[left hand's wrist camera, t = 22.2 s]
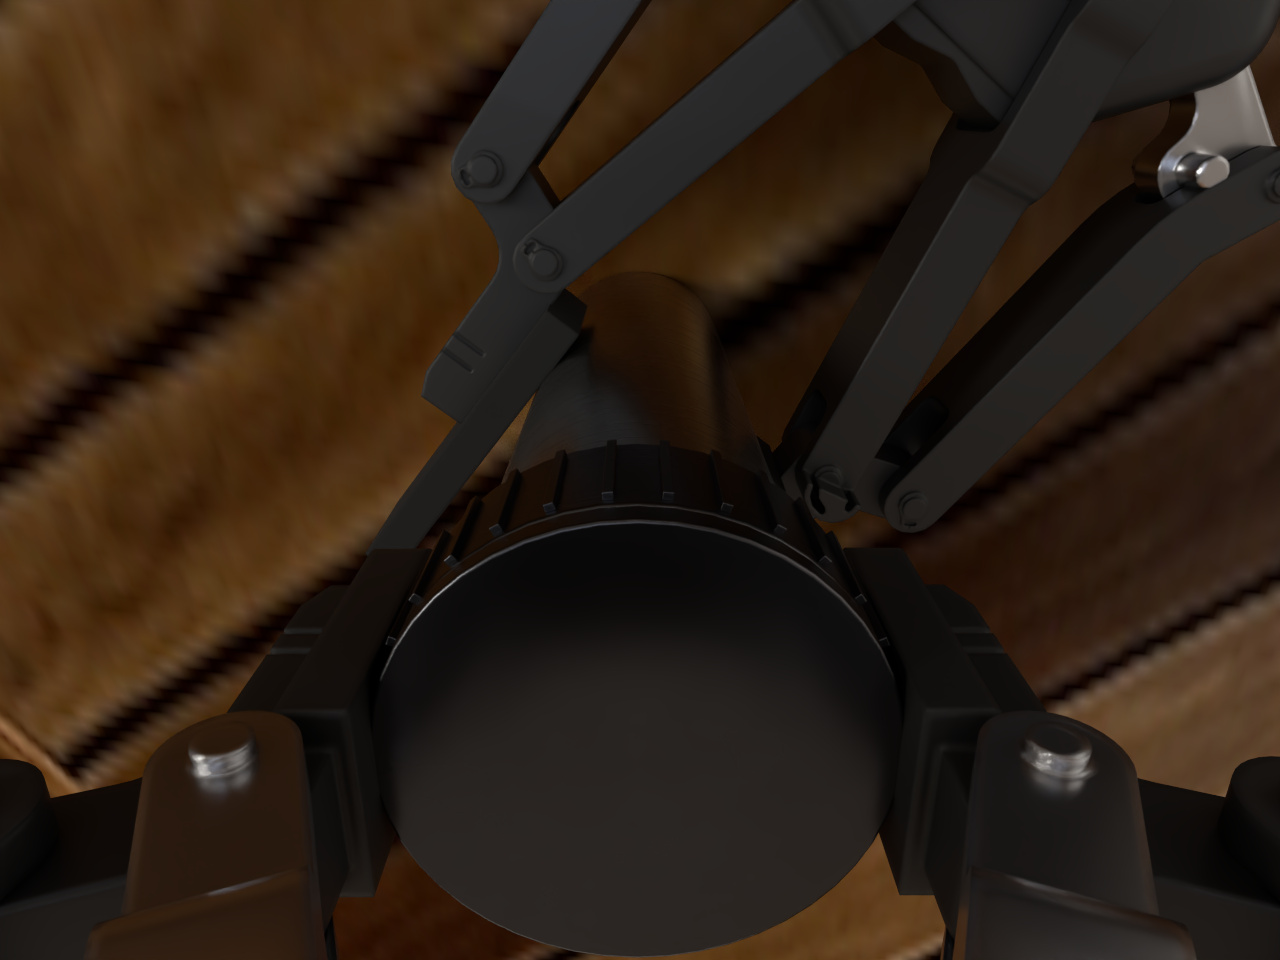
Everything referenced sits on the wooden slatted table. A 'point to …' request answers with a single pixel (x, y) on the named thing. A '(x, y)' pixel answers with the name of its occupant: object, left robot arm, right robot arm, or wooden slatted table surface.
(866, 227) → the wooden slatted table surface
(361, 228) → the wooden slatted table surface
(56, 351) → the wooden slatted table surface
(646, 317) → the jar
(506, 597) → the lid
